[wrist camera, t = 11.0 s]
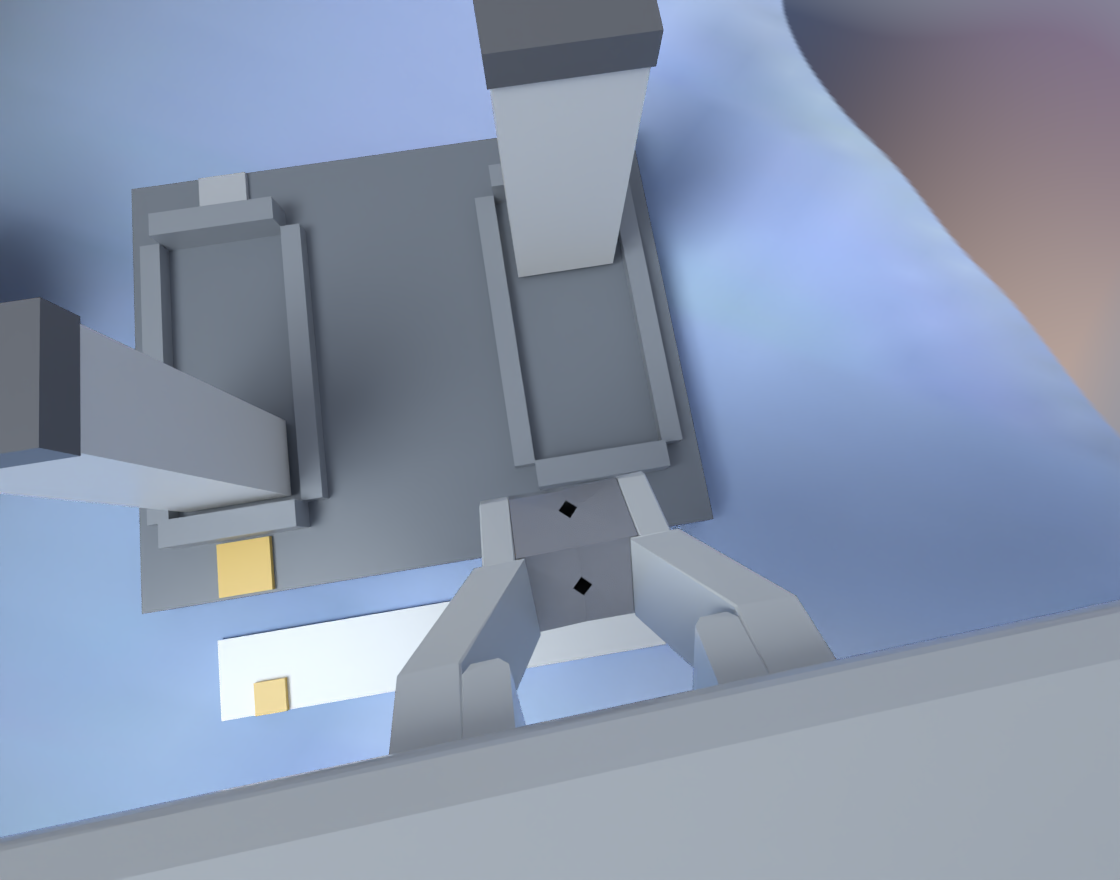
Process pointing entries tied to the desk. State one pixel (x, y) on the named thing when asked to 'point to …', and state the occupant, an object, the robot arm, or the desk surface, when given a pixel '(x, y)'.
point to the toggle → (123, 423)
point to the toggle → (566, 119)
